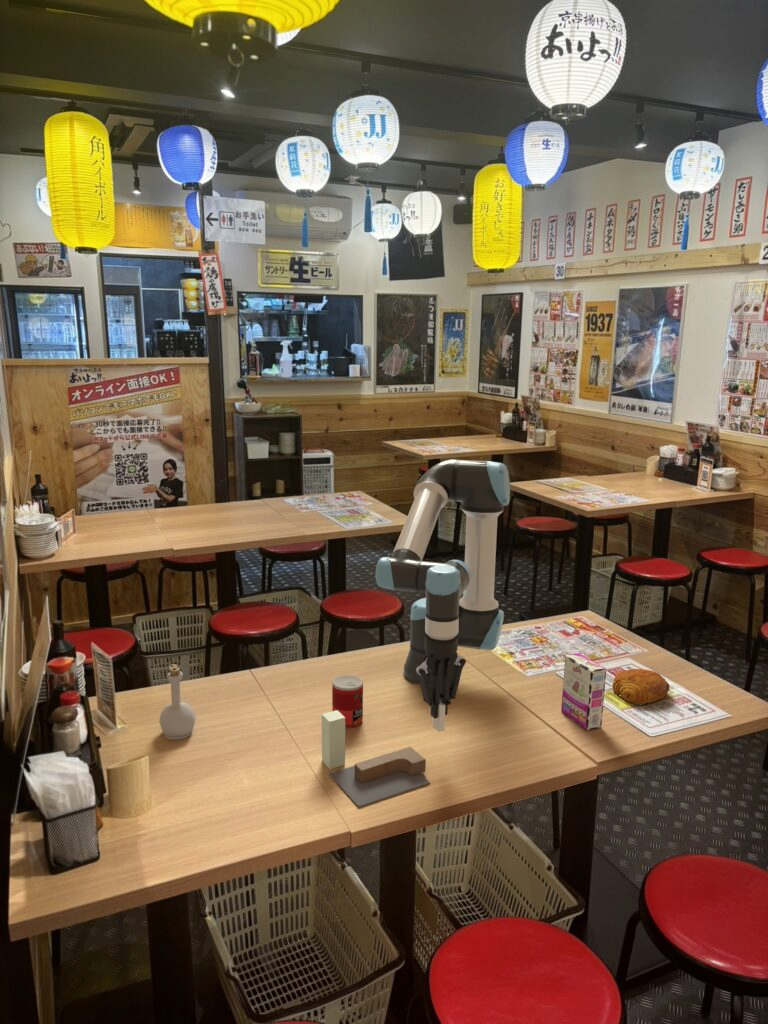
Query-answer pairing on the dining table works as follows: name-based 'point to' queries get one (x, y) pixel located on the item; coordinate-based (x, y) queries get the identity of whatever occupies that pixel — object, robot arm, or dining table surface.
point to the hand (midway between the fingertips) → (438, 728)
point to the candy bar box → (583, 691)
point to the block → (333, 739)
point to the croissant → (640, 686)
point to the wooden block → (390, 765)
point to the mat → (376, 785)
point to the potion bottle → (176, 710)
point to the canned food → (348, 699)
